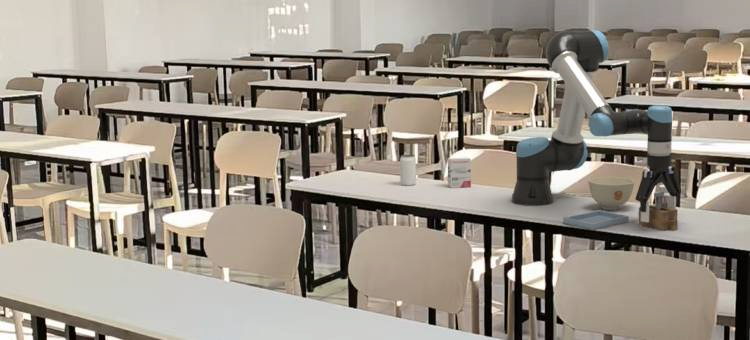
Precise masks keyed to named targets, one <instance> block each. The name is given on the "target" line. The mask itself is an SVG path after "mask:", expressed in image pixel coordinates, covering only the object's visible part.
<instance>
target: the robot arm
mask: <svg viewBox="0 0 750 340" xmlns="http://www.w3.org/2000/svg"><path fill="white" fill-rule="evenodd" d="M609 49H610V48H609V42H608V40H607V37H606V35H605V34H604V33H603V32H601V31H599V30H596V29H592V30H591V29H587V30H586V29H584V30H583V29H581V30H563V31H559V32H557V33H555V34H553V36H552V37H551V38H550V39H549V41H548V43H547V45H546V49H545V56H546V60H547V61H546V62H547V64H548V65H549V67H550V68H551V71H553V73H555V74H558V75H559V76H560V77H561V79H562V80H563V82H564V83H565V88H564V93H563V98H562V104H561V109H560V114H559V118H558V124H557V128H556V129H555V130H553V131H552V133H551V137H550V140H549V139H548V137H545V136H537V137H535V136H534V137H529V138H525V139H522V140H520V141H518V143H517V145H516V152H515V155H516V182H515V185H514V189H513V193H512V195H511V202H512V204H513V203H514V204H515V205H516V204H517V205H522V206H544V205H551V204H552V203H554V194H553V193H552V189H551V186H550V182H549V181H550V180H549V173H551V172H561V171H562V172H563V171H573V170H577V169H579V168H581V167H582V166H583V165H584V164H585V163H586V160H587V158H588V149H587V147H588V145H587V143H586V141H585V140H584V137H583V135H582V134H581V132H582V127H583V123H584V117H585V113H586V114H587V116H588V117H589V119H588V124H587V125H588V128H589V133H591V135H593V136H594V137H610V136H619V135H633V134H645V135H647V143H646V144H647V148H646V152H647V156H646V157H647V161H646V162H647V163H646V165H647V166H648V167H649V171H648V170H643V171H642V174H641V179H640V183H639V186H638V190H637V193H636V196H635V201H637V202H639V207H640V211H641V221H643V222H649V205H650V202H649V201H648V200H649V199H650V198H651V195H652V193H653V191H654V189H655V187H656V186H657V185H658V184H661V183H662V185H664V186H665V187H666V189H667V191H668V192H669V194H670V195H671V196H670V195H669V196H668V208H672V209H677V208H676V207H677V198H678V197H680V195H681V193H682V189H681V185H680V182H679V179H678V176H677V171H676V167H675V166H672V155H671V153H672V142H673V141H672V140H673V121H674V120H673V110H672V108H671V107H670V106H669V105H668V106H667V105H653V106H649V107H648V109H647V110H644V109H643V110H642V109H639V108H637V109H636V108H634V109H632V108H631V109H628V110H626V111H625V110H624V111H614V110H613V108H612V106H611V105H610V104H609V103H608V102H607V100H606V99H605V98H604V96H603V95H602V94H601V92H600V91H599V89H598V88H597V86H596V85H595V84H594V82H593V80H592V78H593V75H594V74H595V73H596V72H598V70H599V68H600V67H599V66H600V64H602V63H604V62H605V61H606V60H607V59H608V58H609V53H610V50H609Z"/></svg>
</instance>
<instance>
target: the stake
mask: <svg viewBox="0 0 750 340" xmlns="http://www.w3.org/2000/svg"><path fill="white" fill-rule="evenodd" d="M661 196H664V192H660V191H657V192H654V193H653V197H654V198H655V200H654V201H655V204H654V205H655V209H657V210H661Z"/></svg>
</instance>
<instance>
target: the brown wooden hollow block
mask: <svg viewBox="0 0 750 340" xmlns="http://www.w3.org/2000/svg"><path fill="white" fill-rule="evenodd" d="M678 223H679V222H678V209H677V208H676V209H672V208H666V207H661V210H657V209H655V204H649V222H643V221H641V211H640V206H639V207H638V226H639V225H641V226H640V227H644V226H647V227H646V228H649V227H651V228H650V229H654V228H656V229H655V230H659V229H660V230H659V231H663V230H664V232H665V231H668V230H669V231H677V230H678Z"/></svg>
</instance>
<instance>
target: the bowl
mask: <svg viewBox="0 0 750 340" xmlns="http://www.w3.org/2000/svg"><path fill="white" fill-rule="evenodd" d="M588 185H589V191H590V195H591V198H593V200H594V201H595V202H596V203H597V204H598V205H600V206H601V208H603V210H606V209H607V211H616V210H620V209H621V206H623V205H625V204H627V202H628V201H629V200H630V198H631V196H632V194H633V190H634V186H635V180H634V179H632V178H630V177H622V176H598V177H592V178H589V179H588Z"/></svg>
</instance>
